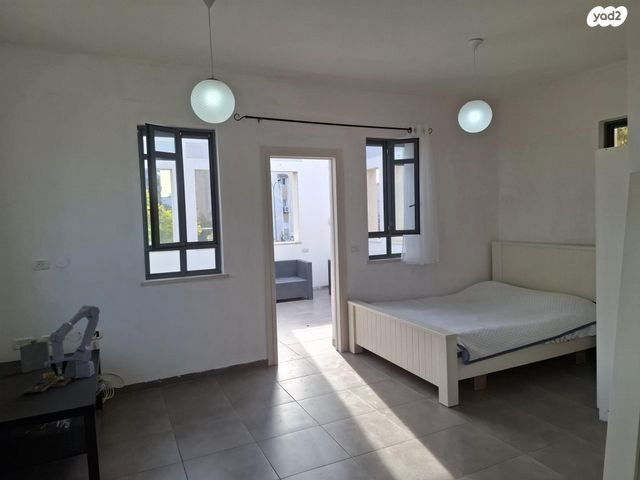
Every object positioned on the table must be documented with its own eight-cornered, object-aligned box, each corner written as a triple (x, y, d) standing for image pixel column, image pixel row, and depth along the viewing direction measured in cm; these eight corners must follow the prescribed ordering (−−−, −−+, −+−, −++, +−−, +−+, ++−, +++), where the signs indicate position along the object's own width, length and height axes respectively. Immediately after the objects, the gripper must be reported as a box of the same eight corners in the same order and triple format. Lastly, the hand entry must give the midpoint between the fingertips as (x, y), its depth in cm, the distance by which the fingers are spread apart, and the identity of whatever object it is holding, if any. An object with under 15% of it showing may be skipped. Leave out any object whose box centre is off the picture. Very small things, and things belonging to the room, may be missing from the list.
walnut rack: (71, 381, 258) (70, 378, 258) (64, 386, 250) (63, 383, 250) (57, 382, 257) (57, 379, 257) (50, 387, 249) (49, 384, 249)
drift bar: (43, 379, 258) (43, 373, 258) (57, 378, 259) (56, 372, 259) (23, 392, 238) (22, 386, 238) (37, 391, 239) (37, 384, 239)
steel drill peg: (64, 377, 255) (63, 366, 255) (62, 379, 252) (62, 368, 252) (57, 378, 254) (56, 367, 254) (56, 380, 251) (55, 369, 251)
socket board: (54, 383, 255) (54, 381, 255) (43, 392, 243) (43, 389, 243) (39, 385, 255) (39, 382, 254) (26, 393, 243) (26, 390, 242)
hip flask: (22, 373, 277) (19, 343, 276) (21, 371, 280) (18, 342, 279) (50, 366, 288) (48, 337, 287) (49, 365, 291) (47, 336, 290)
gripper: (71, 348, 260) (73, 369, 261) (43, 353, 251) (45, 375, 252) (72, 350, 254) (74, 372, 255) (43, 356, 246) (45, 379, 246)
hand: (59, 374), depth 253 cm, fingers closed on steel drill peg, 3 cm apart
